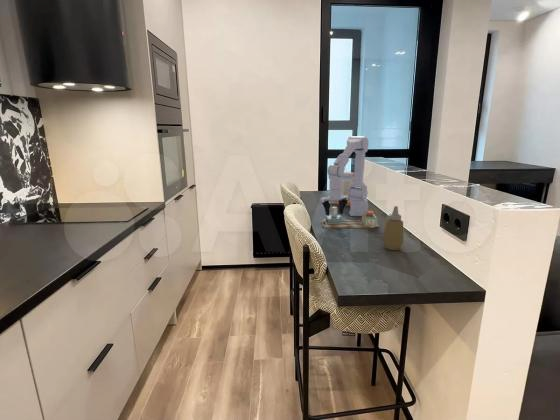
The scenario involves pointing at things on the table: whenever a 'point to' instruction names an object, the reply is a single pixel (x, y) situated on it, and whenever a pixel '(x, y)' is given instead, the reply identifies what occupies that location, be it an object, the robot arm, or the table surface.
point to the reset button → (369, 213)
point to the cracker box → (345, 186)
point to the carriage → (334, 217)
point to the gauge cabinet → (369, 220)
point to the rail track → (348, 224)
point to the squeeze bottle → (394, 231)
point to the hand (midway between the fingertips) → (334, 214)
